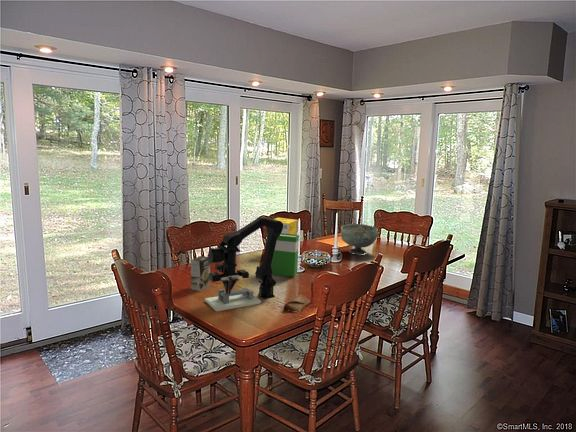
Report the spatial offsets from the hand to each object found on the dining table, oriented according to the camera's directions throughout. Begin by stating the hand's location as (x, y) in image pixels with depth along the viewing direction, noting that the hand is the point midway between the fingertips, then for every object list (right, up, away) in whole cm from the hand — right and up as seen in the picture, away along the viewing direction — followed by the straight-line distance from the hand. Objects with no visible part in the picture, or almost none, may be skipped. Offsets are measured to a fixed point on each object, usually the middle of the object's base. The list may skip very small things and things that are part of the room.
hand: (228, 292), depth 203 cm
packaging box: (+24, +9, +91) cm, 95 cm away
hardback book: (+25, +2, +51) cm, 57 cm away
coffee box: (-17, -1, +20) cm, 27 cm away
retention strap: (+3, -1, +2) cm, 4 cm away
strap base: (+2, -5, +2) cm, 6 cm away
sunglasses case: (+34, -7, +2) cm, 35 cm away
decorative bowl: (+80, +9, +106) cm, 133 cm away
